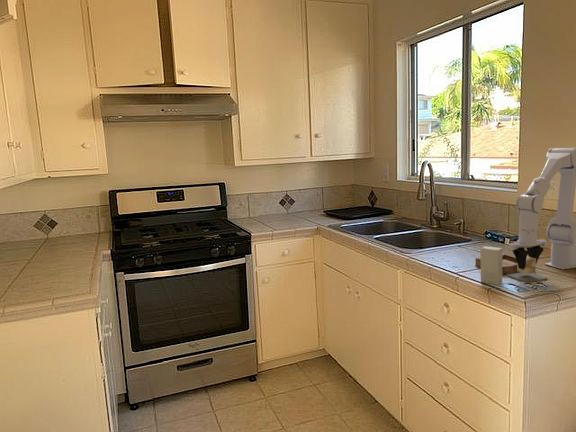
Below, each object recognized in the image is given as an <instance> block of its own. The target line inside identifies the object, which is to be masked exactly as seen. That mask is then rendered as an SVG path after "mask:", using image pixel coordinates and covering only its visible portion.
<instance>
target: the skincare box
mask: <svg viewBox="0 0 576 432" xmlns="http://www.w3.org/2000/svg"><path fill="white" fill-rule="evenodd" d="M502 254H503V247H494V246H487V245H486V246H483V247H481V248H480V257H481V267H480V282H481V283H484V284H485V283H486V284H489V285H490V284H493V285H497V286H498V285H500V284H501V282H502V283H503V275H502Z"/></svg>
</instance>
